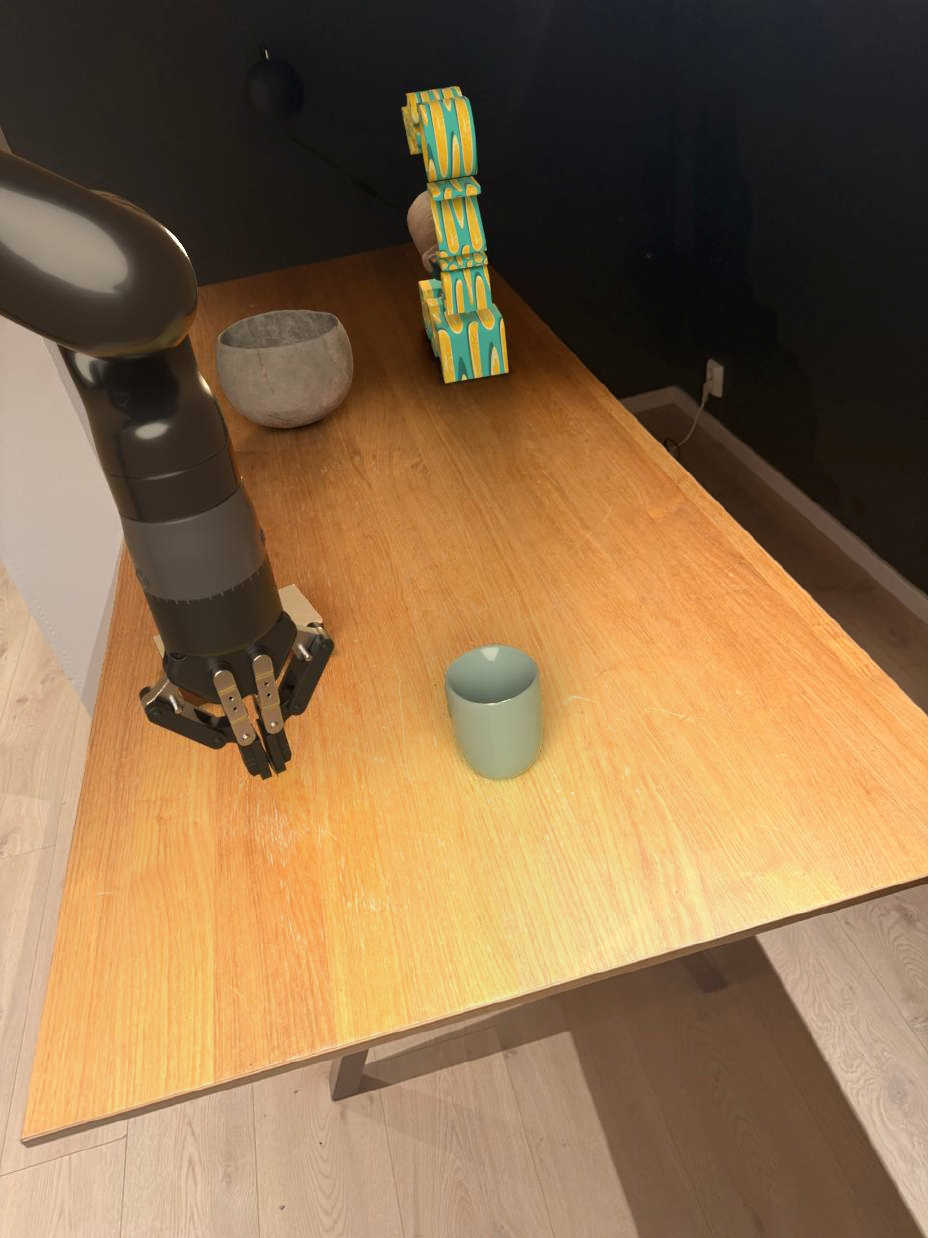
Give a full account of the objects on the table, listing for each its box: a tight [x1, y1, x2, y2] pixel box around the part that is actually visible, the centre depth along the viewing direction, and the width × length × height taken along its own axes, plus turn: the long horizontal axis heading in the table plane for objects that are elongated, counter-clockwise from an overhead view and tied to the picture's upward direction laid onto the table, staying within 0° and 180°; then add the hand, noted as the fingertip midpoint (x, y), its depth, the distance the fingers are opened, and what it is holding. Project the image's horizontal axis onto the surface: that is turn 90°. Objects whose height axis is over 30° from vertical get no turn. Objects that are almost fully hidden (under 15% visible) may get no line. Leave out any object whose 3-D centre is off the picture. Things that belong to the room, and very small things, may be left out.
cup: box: [443, 644, 545, 781], centre depth 81 cm, size 8×8×10 cm
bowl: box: [214, 309, 354, 429], centre depth 145 cm, size 20×20×15 cm
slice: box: [278, 583, 326, 661], centre depth 100 cm, size 4×8×4 cm, turn 30°
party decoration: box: [401, 85, 509, 384], centre depth 155 cm, size 31×12×40 cm, turn 9°
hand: (270, 768), depth 66 cm, fingers closed
